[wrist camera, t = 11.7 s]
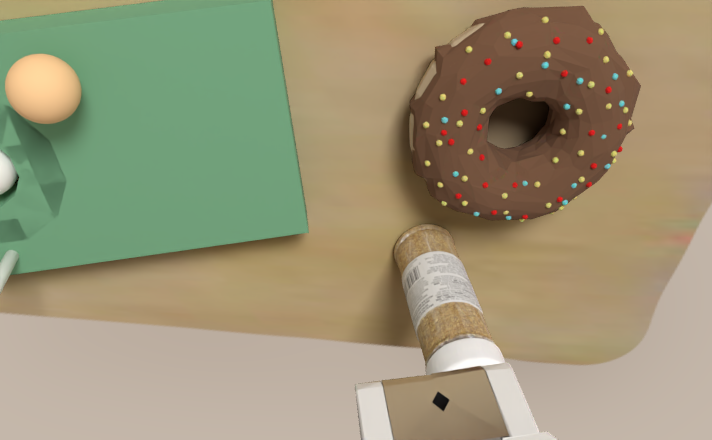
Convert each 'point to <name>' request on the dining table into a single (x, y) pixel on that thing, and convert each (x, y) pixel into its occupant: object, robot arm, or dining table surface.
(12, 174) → the white ball
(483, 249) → the dining table surface
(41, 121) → the orange ball
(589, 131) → the donut
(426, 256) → the sprinkles bottle
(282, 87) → the putting mat
